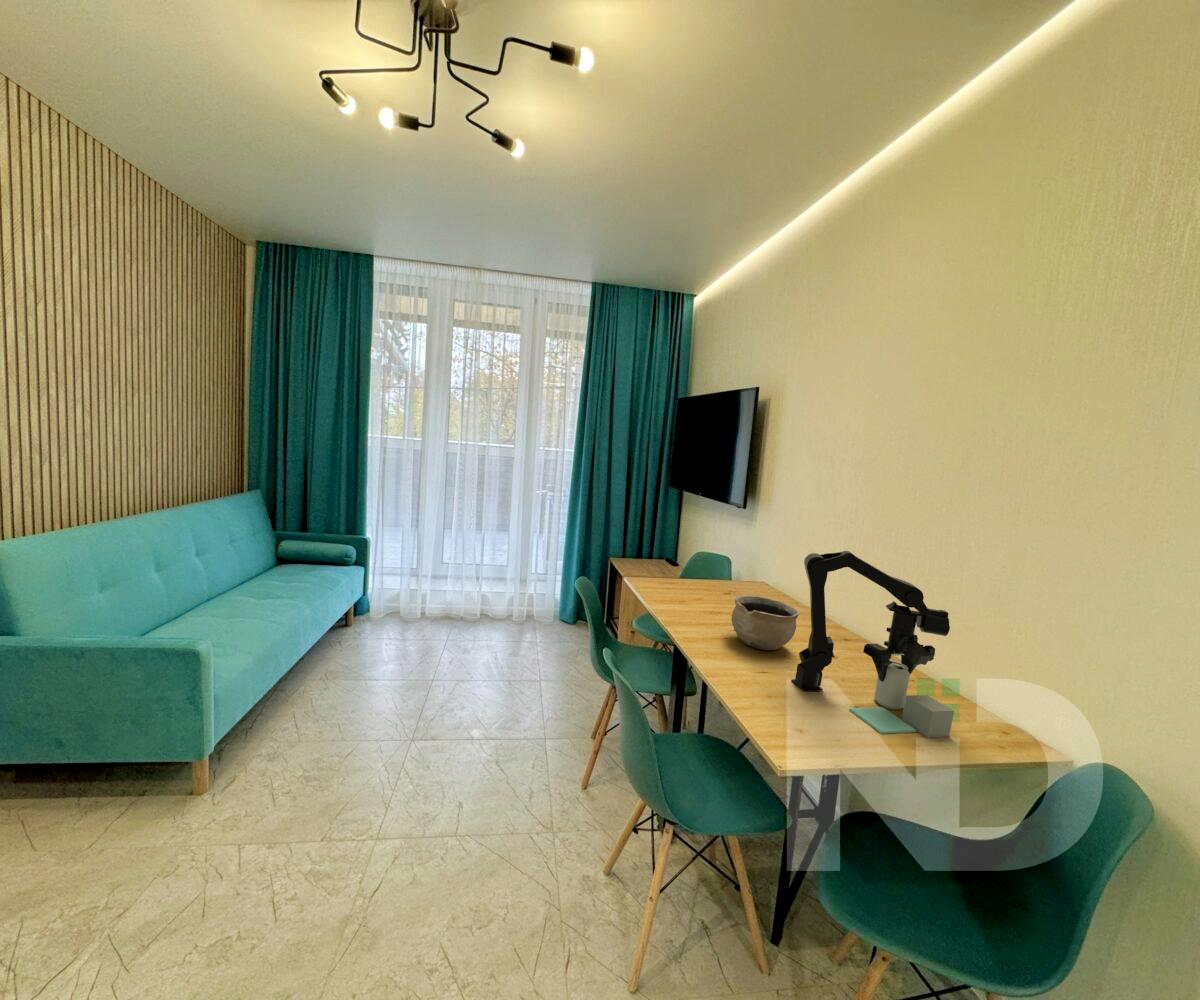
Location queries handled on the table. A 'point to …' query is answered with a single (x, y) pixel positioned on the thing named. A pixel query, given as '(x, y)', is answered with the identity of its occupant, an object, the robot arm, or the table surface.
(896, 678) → the can
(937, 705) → the unit
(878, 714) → the mat
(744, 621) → the ceramic bowl
